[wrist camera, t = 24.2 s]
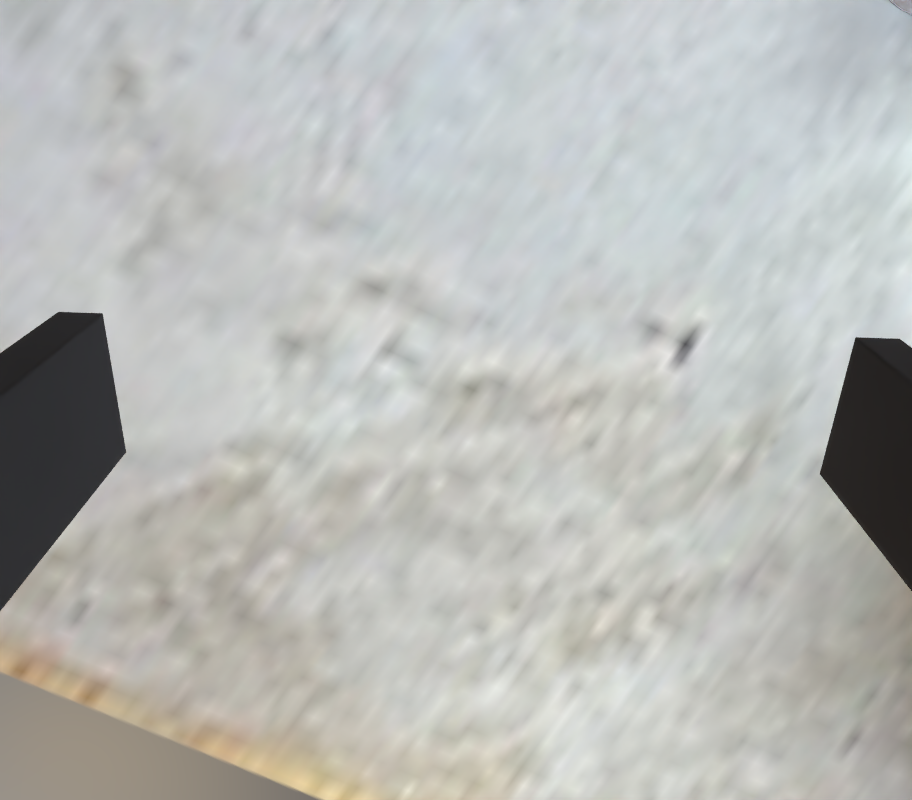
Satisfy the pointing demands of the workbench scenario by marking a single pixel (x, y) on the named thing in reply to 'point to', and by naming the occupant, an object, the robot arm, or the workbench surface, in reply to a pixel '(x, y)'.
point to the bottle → (903, 5)
